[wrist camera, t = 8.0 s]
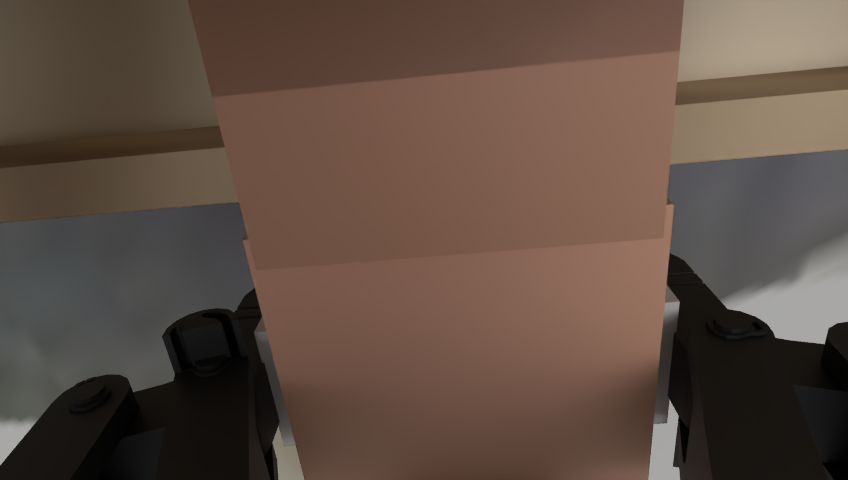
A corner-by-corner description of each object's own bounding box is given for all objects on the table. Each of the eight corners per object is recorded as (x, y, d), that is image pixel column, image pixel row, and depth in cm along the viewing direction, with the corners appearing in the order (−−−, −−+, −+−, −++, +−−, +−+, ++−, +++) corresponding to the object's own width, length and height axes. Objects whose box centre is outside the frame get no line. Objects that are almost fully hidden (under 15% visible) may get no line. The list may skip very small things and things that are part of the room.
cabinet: (371, 331, 18) (314, 630, 10) (314, -13, 14) (128, -1, 6) (557, 317, 18) (664, 617, 9) (558, -40, 14) (754, -71, 5)
